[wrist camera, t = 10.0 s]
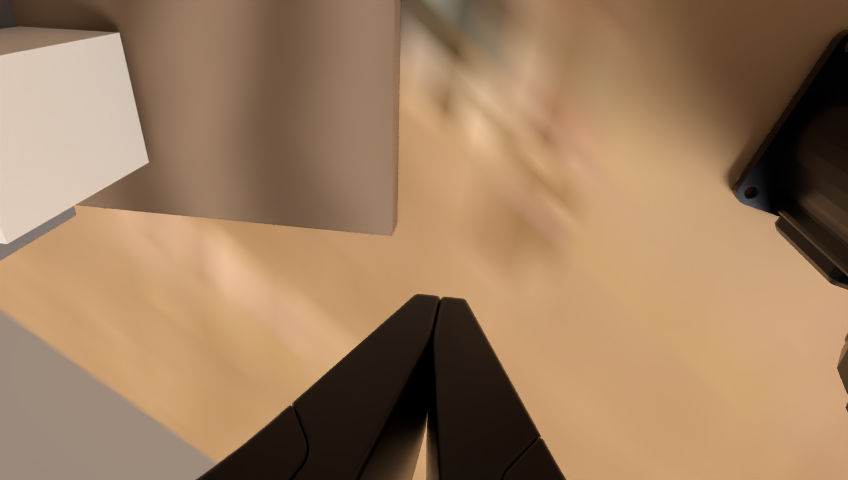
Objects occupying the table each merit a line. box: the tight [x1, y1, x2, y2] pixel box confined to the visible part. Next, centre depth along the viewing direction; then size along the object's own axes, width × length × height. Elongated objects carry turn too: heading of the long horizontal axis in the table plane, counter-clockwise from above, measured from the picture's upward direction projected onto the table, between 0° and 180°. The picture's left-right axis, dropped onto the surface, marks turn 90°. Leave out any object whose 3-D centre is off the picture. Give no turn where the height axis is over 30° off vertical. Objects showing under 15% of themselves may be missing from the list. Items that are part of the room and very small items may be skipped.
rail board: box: [9, 0, 401, 236], centre depth 21 cm, size 20×10×1 cm, turn 88°
